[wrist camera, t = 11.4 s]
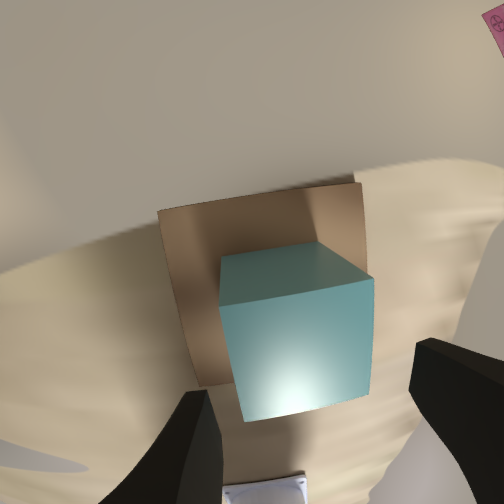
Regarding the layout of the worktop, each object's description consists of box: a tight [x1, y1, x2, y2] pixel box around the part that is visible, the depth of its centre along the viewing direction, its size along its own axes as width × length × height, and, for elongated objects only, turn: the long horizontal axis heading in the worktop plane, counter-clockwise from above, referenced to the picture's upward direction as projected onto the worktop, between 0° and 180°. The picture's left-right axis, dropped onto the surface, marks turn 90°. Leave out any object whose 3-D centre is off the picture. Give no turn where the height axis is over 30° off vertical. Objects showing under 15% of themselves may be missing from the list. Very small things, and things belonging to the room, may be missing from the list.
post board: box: [158, 182, 367, 387], centre depth 15 cm, size 11×11×5 cm
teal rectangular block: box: [219, 241, 374, 422], centre depth 13 cm, size 5×5×7 cm
